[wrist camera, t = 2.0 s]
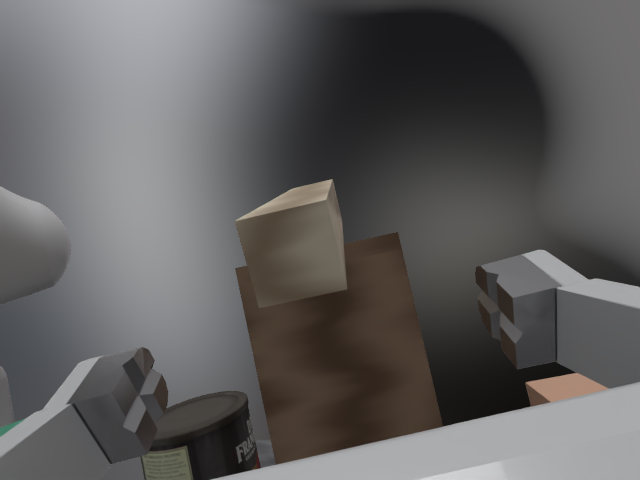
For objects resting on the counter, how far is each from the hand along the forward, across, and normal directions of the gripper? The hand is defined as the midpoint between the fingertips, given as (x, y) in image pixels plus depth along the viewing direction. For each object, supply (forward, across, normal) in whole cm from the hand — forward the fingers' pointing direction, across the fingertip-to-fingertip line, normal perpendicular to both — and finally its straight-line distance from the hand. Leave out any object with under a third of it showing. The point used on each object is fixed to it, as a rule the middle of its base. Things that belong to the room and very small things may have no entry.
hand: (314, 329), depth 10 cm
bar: (+14, 0, +4) cm, 15 cm away
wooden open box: (+8, +1, +30) cm, 31 cm away
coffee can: (+15, +16, +33) cm, 40 cm away
